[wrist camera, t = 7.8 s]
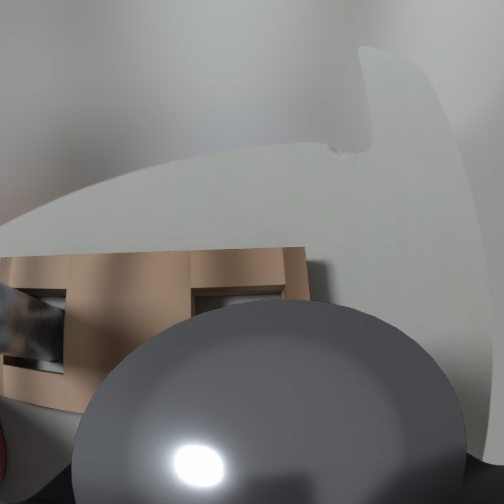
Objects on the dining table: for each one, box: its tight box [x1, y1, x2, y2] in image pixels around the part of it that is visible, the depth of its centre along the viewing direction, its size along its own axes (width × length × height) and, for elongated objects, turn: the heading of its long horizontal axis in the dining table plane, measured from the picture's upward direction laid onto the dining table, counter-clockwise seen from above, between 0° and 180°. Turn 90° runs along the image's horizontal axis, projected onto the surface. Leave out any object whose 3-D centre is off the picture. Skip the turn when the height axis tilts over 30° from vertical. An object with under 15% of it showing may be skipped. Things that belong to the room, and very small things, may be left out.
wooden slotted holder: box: [0, 247, 310, 414], centre depth 19 cm, size 24×11×3 cm, turn 93°
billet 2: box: [72, 299, 466, 504], centre depth 8 cm, size 4×4×13 cm
